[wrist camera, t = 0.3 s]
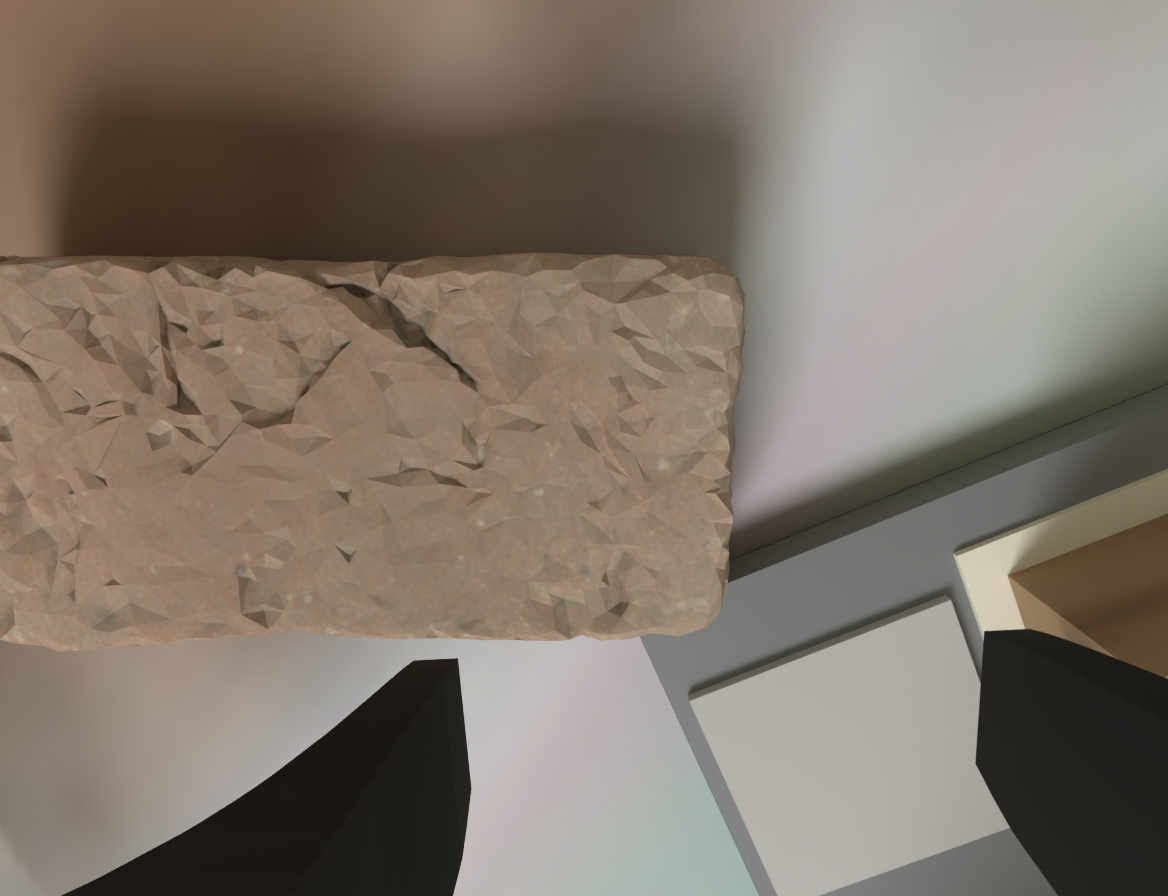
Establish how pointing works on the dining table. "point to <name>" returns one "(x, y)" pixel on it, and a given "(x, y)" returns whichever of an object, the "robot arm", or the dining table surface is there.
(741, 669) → the board
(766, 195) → the dining table surface
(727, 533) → the brick
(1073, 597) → the walnut block
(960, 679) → the pad
